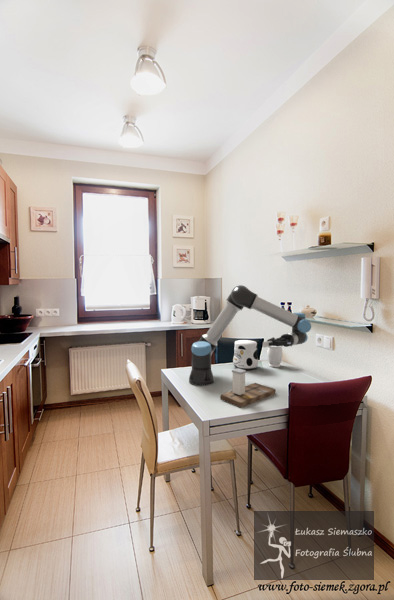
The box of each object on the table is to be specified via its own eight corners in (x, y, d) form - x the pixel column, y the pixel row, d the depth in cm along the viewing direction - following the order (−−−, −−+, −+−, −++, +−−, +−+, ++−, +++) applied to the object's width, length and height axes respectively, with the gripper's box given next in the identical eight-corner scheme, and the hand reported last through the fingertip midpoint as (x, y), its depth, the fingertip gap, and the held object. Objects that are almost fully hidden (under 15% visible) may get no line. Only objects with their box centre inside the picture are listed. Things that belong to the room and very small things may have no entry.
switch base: (255, 387, 182) (255, 382, 182) (275, 393, 172) (275, 389, 172) (220, 399, 164) (220, 394, 164) (240, 407, 154) (240, 402, 154)
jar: (279, 368, 218) (279, 347, 217) (265, 366, 224) (265, 345, 223) (284, 365, 227) (284, 344, 226) (270, 363, 233) (270, 342, 232)
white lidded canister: (237, 390, 169) (237, 368, 168) (245, 393, 164) (246, 370, 164) (231, 392, 166) (231, 369, 165) (239, 395, 161) (239, 372, 161)
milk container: (228, 368, 219) (228, 342, 218) (240, 362, 234) (240, 338, 232) (251, 372, 210) (251, 345, 208) (262, 366, 224) (262, 341, 222)
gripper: (298, 348, 186) (273, 353, 171) (279, 344, 196) (254, 349, 181) (298, 335, 185) (273, 339, 170) (279, 332, 195) (254, 336, 180)
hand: (263, 344), depth 176 cm, fingers closed
